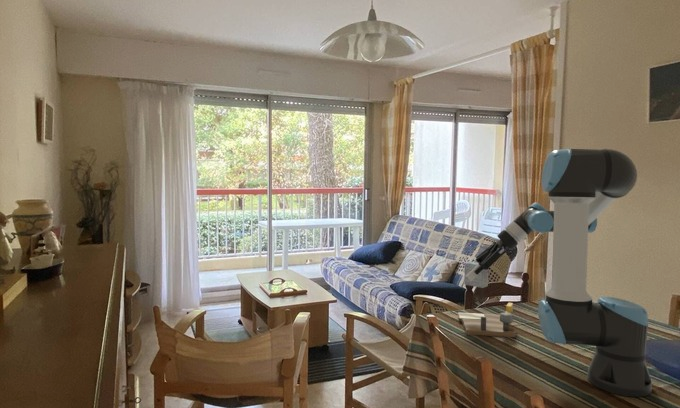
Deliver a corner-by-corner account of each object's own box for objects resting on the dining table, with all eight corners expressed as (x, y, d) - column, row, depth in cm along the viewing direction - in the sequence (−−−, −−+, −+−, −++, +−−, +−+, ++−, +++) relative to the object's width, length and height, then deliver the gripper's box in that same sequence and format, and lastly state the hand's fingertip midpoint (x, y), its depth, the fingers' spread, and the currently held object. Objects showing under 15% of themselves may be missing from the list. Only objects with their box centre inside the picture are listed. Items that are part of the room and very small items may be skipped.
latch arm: (511, 331, 158) (512, 312, 158) (498, 329, 160) (499, 310, 160) (516, 321, 169) (516, 303, 168) (503, 319, 171) (504, 301, 171)
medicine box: (488, 286, 174) (488, 264, 173) (483, 288, 170) (483, 265, 170) (469, 282, 179) (469, 261, 178) (463, 284, 176) (464, 263, 175)
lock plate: (515, 337, 159) (516, 320, 159) (463, 334, 162) (463, 317, 161) (503, 318, 179) (504, 304, 178) (457, 316, 181) (457, 301, 181)
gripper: (525, 247, 161) (477, 289, 164) (512, 239, 181) (470, 276, 185) (510, 232, 161) (463, 275, 165) (499, 225, 182) (457, 263, 185)
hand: (467, 275), depth 175 cm, fingers closed on medicine box, 8 cm apart
